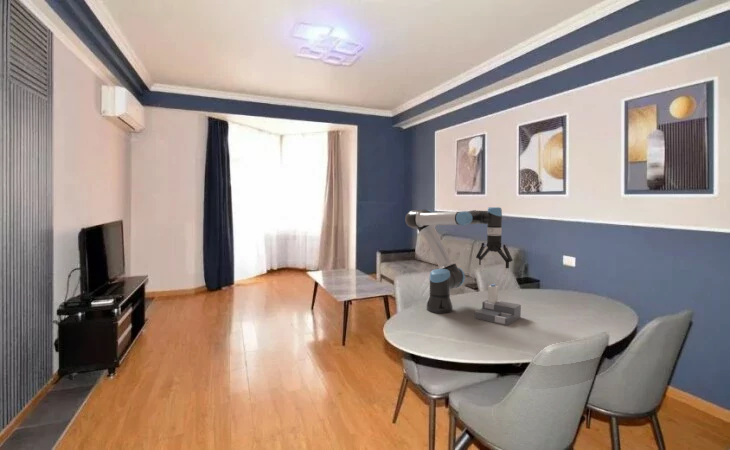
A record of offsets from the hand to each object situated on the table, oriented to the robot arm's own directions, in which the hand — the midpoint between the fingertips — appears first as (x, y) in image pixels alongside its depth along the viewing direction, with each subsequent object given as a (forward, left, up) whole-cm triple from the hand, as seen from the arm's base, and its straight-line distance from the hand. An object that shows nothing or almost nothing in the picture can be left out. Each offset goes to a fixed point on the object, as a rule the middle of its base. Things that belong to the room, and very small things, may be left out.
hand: (493, 272), depth 210 cm
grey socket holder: (+5, -4, -24) cm, 25 cm away
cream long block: (0, 0, -20) cm, 20 cm away
